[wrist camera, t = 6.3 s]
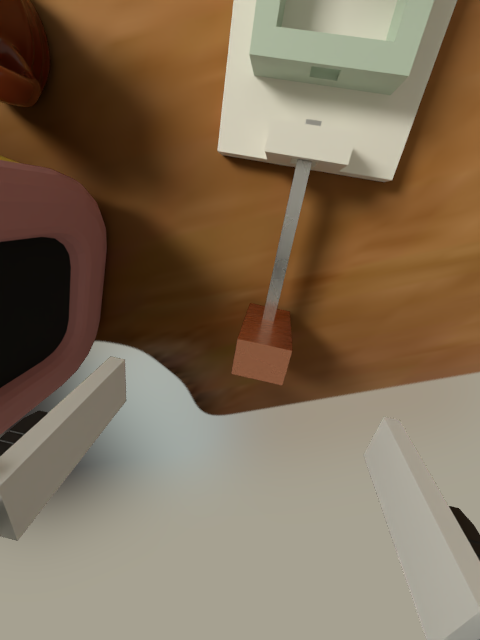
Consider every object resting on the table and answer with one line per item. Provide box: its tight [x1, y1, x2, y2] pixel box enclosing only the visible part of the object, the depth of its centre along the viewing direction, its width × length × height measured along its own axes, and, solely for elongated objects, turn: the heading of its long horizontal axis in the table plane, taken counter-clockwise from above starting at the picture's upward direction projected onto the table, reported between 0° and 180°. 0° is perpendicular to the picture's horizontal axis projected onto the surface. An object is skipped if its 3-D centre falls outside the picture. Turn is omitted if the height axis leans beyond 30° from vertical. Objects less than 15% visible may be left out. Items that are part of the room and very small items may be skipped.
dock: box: [218, 0, 457, 182], centre depth 14 cm, size 12×13×4 cm
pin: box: [231, 119, 322, 385], centre depth 18 cm, size 4×16×7 cm, turn 171°
